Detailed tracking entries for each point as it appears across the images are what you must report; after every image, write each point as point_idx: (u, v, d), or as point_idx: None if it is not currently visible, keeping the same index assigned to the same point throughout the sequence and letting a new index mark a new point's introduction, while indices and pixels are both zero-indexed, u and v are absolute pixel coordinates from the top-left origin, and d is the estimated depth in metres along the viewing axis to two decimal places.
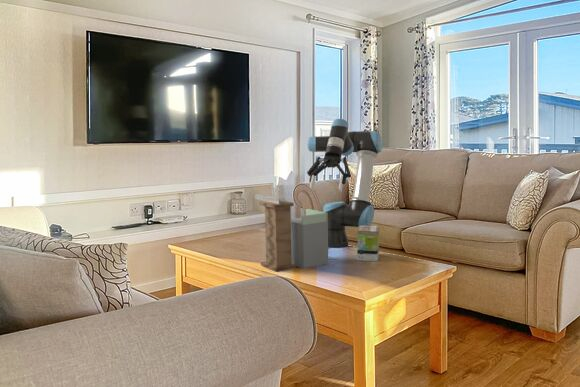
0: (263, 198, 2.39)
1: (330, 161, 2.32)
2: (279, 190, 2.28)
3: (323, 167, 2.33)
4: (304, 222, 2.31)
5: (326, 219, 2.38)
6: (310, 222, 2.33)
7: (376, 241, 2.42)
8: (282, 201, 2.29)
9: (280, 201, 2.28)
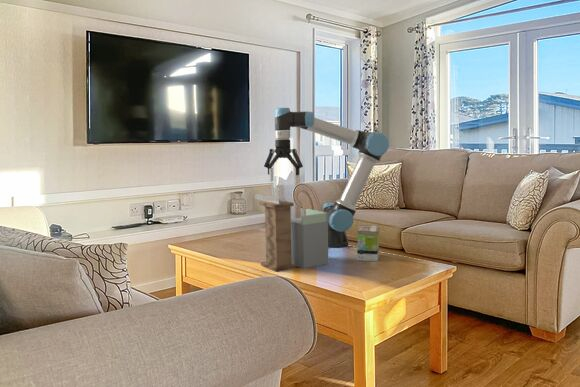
0: (263, 198, 2.39)
1: (281, 154, 2.56)
2: (279, 190, 2.28)
3: (277, 158, 2.59)
4: (304, 222, 2.31)
5: (326, 219, 2.38)
6: (310, 222, 2.33)
7: (376, 241, 2.42)
8: (282, 201, 2.29)
9: (280, 201, 2.28)
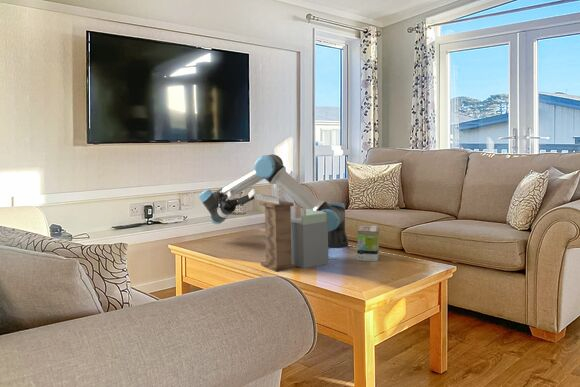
0: (263, 198, 2.39)
1: (232, 204, 2.69)
2: (279, 190, 2.28)
3: (239, 200, 2.69)
4: (304, 222, 2.31)
5: (326, 219, 2.38)
6: (310, 222, 2.33)
7: (376, 241, 2.42)
8: (282, 201, 2.29)
9: (280, 201, 2.28)
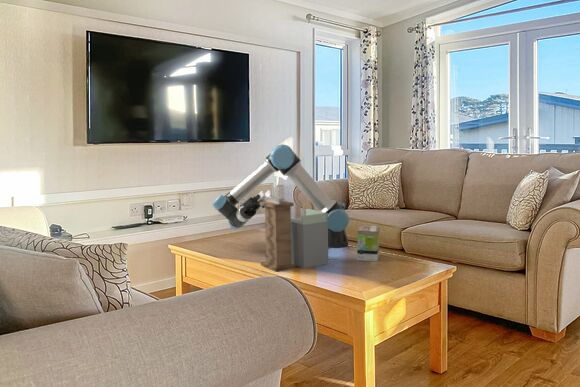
0: (263, 198, 2.39)
1: (253, 208, 2.51)
2: (279, 190, 2.28)
3: (257, 203, 2.49)
4: (304, 222, 2.31)
5: (326, 219, 2.38)
6: (310, 222, 2.33)
7: (376, 241, 2.42)
8: (282, 201, 2.29)
9: (280, 201, 2.28)
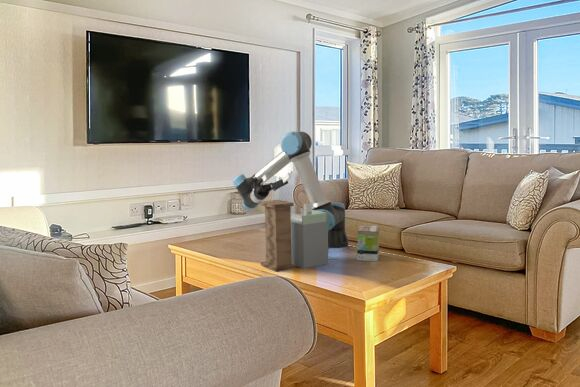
0: None
1: (266, 189, 2.68)
2: (307, 209, 2.37)
3: (273, 185, 2.68)
4: (304, 222, 2.31)
5: (326, 219, 2.38)
6: (310, 222, 2.33)
7: (376, 241, 2.42)
8: None
9: None
